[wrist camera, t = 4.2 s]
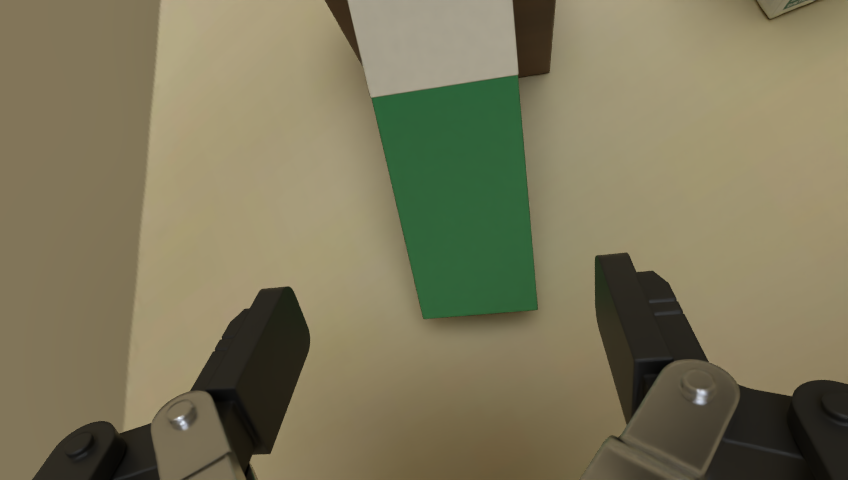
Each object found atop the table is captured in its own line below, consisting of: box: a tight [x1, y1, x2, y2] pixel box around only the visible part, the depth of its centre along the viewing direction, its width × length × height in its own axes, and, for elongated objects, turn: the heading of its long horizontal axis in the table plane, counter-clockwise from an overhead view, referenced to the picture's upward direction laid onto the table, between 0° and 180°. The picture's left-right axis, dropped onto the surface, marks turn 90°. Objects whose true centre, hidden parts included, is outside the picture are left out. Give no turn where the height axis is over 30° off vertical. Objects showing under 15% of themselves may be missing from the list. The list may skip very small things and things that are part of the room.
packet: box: [347, 0, 538, 319], centre depth 23 cm, size 13×6×13 cm, turn 4°
